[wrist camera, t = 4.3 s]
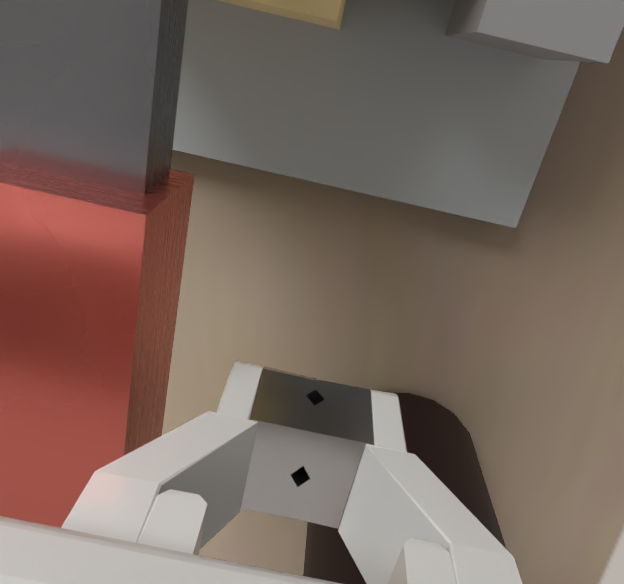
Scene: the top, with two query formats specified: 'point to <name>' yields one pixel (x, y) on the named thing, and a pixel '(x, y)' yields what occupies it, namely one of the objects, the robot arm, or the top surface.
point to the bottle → (438, 458)
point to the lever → (85, 240)
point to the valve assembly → (389, 92)
